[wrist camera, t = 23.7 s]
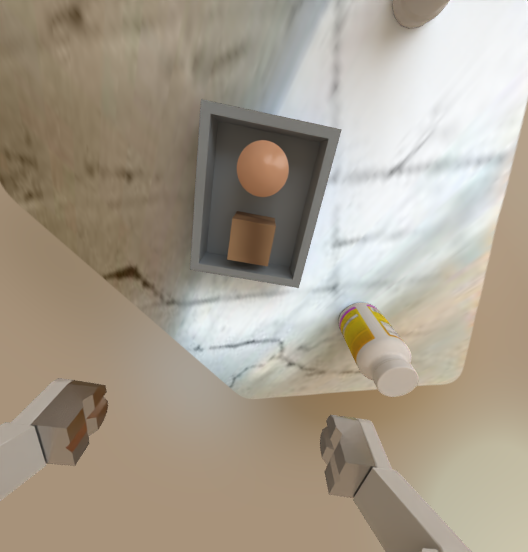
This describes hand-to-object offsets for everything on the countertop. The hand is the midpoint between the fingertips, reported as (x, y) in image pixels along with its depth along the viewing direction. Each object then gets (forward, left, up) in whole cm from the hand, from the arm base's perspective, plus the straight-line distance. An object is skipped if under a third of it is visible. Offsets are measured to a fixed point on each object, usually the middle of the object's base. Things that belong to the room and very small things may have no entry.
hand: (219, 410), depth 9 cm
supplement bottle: (+19, -11, -27) cm, 35 cm away
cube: (0, 0, -26) cm, 27 cm away
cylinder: (0, +8, -26) cm, 28 cm away
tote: (0, +4, -27) cm, 27 cm away
